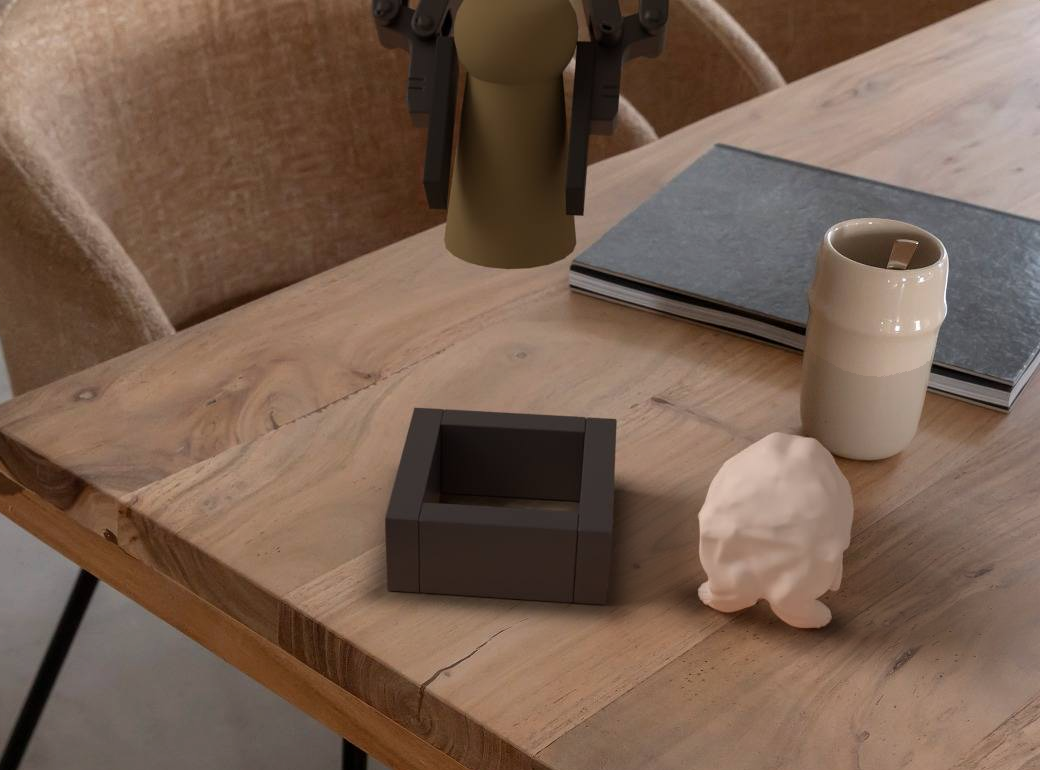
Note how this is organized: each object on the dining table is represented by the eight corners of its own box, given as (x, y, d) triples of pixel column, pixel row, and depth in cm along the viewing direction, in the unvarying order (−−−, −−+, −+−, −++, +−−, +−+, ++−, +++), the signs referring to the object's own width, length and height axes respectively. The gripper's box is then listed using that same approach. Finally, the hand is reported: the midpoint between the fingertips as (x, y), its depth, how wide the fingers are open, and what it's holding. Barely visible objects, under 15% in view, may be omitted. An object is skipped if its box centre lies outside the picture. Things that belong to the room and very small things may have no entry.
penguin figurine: (700, 459, 59) (752, 356, 69) (676, 636, 64) (728, 516, 73) (859, 488, 57) (890, 378, 67) (823, 668, 62) (856, 540, 72)
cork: (423, 256, 66) (421, -1, 59) (472, 208, 70) (475, -36, 63) (551, 278, 64) (563, 15, 57) (593, 227, 68) (609, -23, 62)
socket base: (611, 487, 74) (616, 418, 72) (606, 605, 66) (612, 532, 64) (415, 475, 75) (414, 406, 72) (386, 591, 67) (384, 517, 65)
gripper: (330, -366, 62) (274, 150, 59) (765, -364, 60) (732, 170, 57) (356, -241, 70) (308, 224, 66) (745, -235, 68) (714, 243, 65)
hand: (504, 198), depth 62 cm, fingers closed on cork, 5 cm apart
